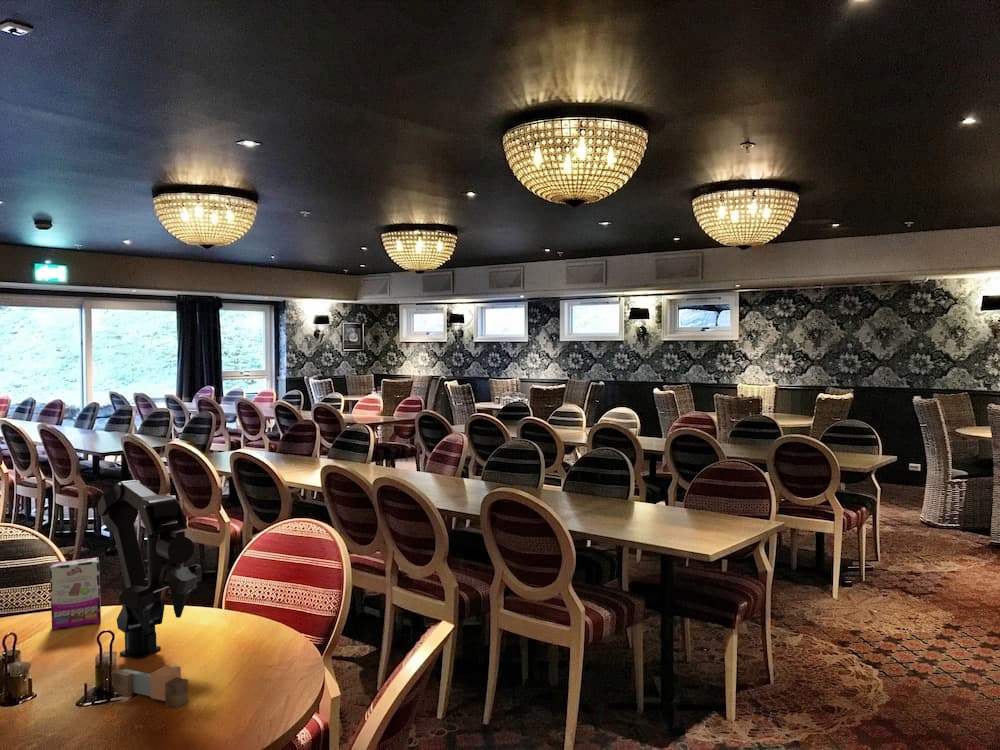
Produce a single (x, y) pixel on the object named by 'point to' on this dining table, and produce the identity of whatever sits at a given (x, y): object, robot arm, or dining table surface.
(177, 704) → the grey-brown blocks
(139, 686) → the grey l-shaped bracket
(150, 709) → the dining table surface
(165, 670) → the tan rectangular block
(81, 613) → the candy bar box
